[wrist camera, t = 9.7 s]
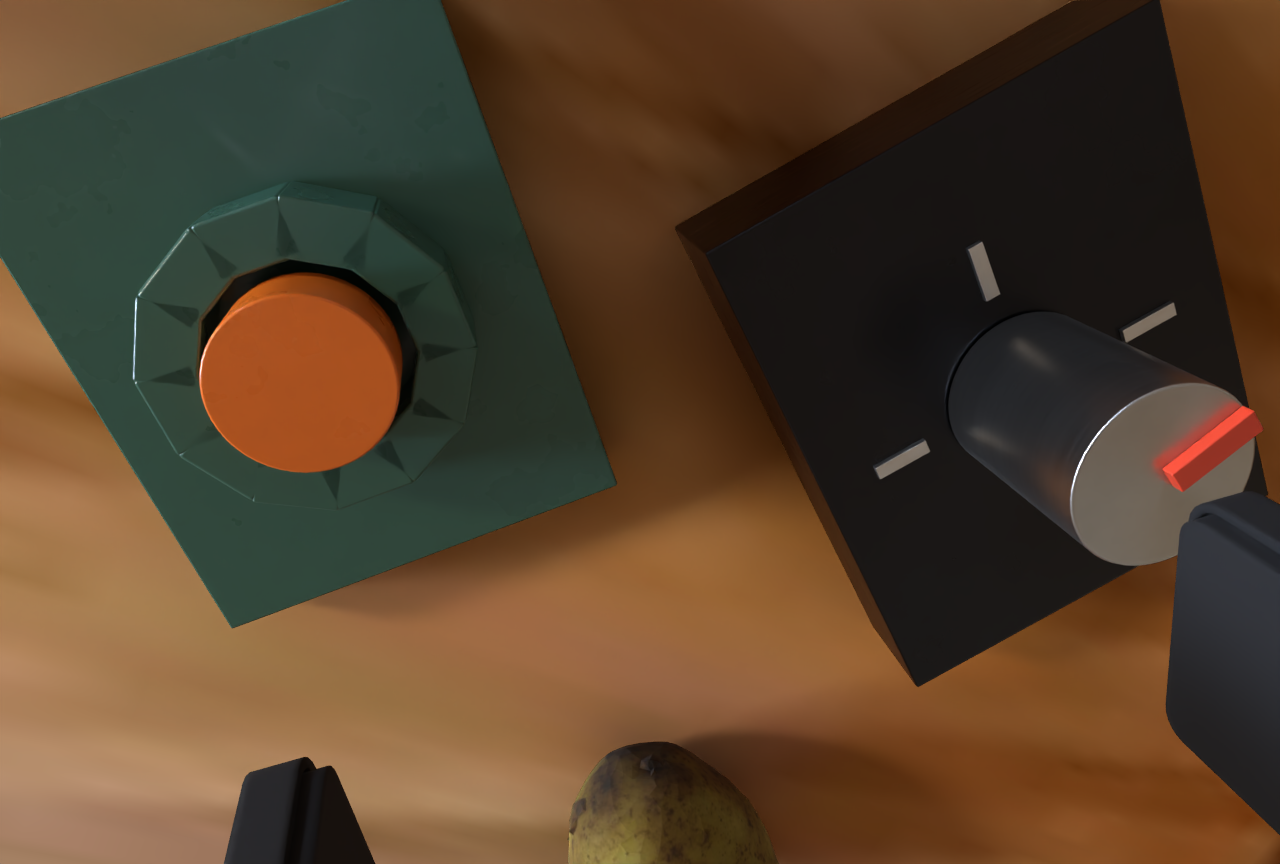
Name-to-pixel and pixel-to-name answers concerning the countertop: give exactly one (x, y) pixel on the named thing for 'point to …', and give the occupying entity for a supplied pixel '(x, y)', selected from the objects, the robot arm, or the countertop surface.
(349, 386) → the button
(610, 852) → the potato
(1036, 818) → the countertop surface
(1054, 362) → the knob
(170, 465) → the block
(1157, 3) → the hob console
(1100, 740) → the countertop surface
